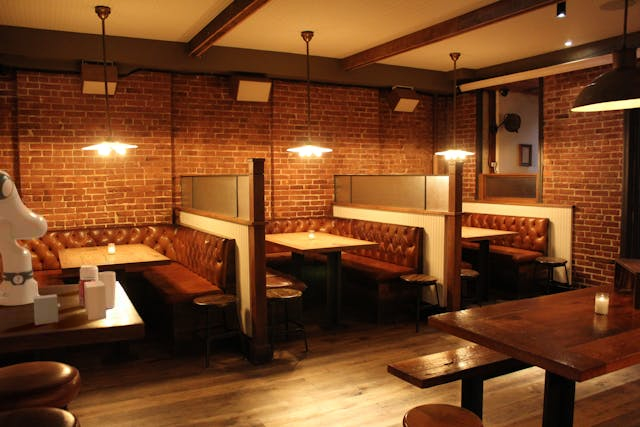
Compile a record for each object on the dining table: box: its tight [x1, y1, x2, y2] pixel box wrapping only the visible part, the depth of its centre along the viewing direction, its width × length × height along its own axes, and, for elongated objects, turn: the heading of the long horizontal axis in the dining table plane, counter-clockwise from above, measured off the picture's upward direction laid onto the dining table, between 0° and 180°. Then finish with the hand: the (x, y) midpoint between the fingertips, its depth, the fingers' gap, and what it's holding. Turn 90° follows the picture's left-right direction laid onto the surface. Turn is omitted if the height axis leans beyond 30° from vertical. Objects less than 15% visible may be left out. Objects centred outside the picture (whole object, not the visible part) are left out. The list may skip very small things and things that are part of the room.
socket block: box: [84, 280, 107, 321], centre depth 221 cm, size 11×6×13 cm, turn 29°
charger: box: [33, 293, 61, 326], centre depth 213 cm, size 4×9×10 cm, turn 119°
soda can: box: [78, 277, 95, 308], centre depth 237 cm, size 7×7×12 cm
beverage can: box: [79, 264, 99, 281], centre depth 266 cm, size 8×8×12 cm
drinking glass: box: [98, 271, 117, 310], centre depth 233 cm, size 7×7×15 cm
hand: (8, 296), depth 206 cm, fingers open, 8 cm apart
